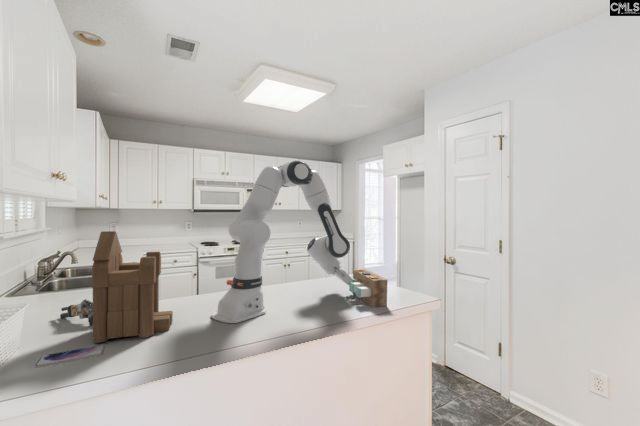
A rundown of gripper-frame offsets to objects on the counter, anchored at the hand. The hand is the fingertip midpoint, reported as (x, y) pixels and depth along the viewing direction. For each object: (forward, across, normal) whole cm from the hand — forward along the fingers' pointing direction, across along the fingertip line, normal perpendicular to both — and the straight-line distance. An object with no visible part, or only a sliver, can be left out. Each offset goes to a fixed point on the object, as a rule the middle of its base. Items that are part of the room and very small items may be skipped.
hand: (349, 283), depth 154 cm
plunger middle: (+2, -8, 0) cm, 8 cm away
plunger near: (+2, -16, 0) cm, 16 cm away
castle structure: (-59, -19, +68) cm, 92 cm away
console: (+9, -8, -1) cm, 12 cm away
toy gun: (-74, -11, +84) cm, 112 cm away
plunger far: (+5, 0, -2) cm, 5 cm away
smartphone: (-67, -40, +77) cm, 110 cm away
